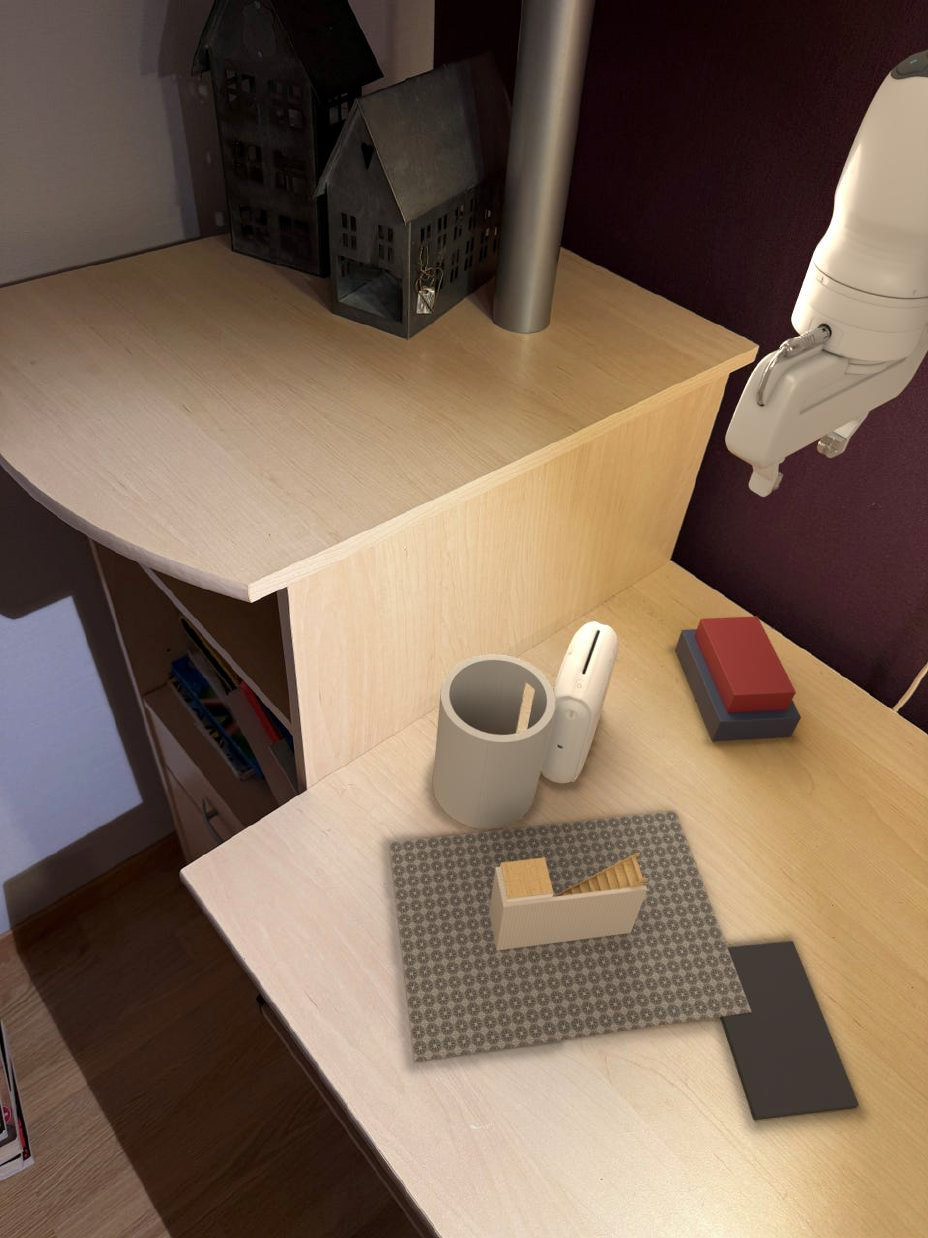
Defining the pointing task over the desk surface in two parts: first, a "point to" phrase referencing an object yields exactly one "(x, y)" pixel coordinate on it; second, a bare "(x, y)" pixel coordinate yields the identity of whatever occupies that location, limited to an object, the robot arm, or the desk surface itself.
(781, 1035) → the felt pad
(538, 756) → the cup
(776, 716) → the navy hardback
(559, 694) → the photo printer
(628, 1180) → the desk surface
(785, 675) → the burgundy notebook
